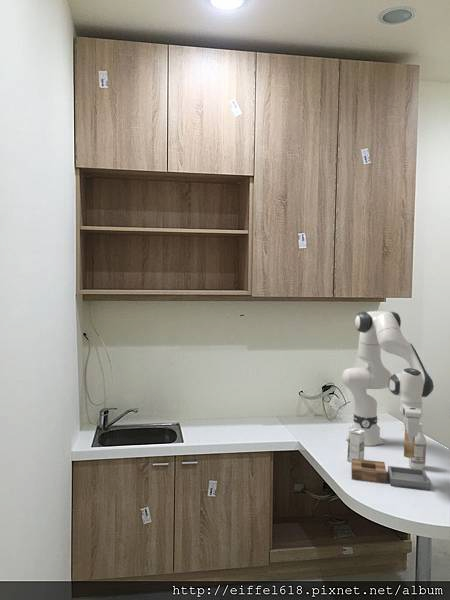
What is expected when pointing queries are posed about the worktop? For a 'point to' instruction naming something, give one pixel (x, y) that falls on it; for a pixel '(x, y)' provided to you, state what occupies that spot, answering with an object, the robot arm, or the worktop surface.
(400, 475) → the tray
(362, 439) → the syrup box
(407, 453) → the dowel
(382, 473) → the holder
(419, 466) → the bath foam
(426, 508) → the worktop surface
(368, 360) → the robot arm
